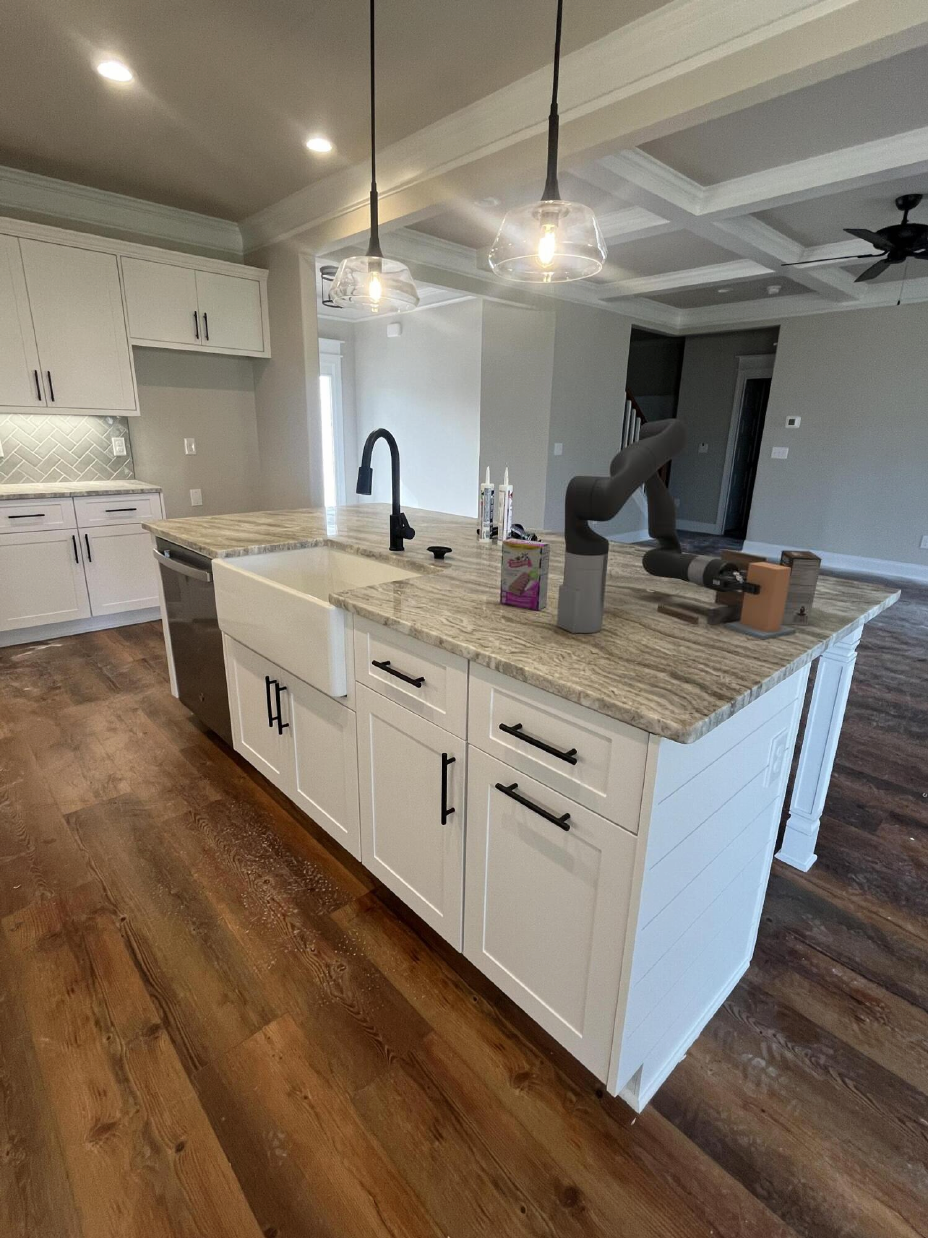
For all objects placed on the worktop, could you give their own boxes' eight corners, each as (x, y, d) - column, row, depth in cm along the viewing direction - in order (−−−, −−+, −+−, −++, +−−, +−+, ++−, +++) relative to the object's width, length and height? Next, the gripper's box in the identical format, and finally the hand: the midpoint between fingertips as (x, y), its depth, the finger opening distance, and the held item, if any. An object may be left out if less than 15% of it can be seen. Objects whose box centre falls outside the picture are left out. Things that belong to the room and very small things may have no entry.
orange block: (766, 632, 133) (777, 569, 129) (739, 623, 139) (749, 563, 135) (780, 629, 135) (791, 567, 131) (753, 621, 141) (762, 561, 137)
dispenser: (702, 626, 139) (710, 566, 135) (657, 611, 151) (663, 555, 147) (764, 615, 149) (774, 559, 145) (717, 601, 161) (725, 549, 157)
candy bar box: (498, 604, 155) (501, 540, 150) (508, 600, 159) (510, 537, 154) (538, 611, 149) (542, 545, 144) (547, 607, 153) (551, 542, 148)
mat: (762, 639, 131) (763, 636, 130) (724, 626, 139) (724, 623, 139) (795, 633, 135) (796, 629, 135) (756, 621, 144) (757, 617, 144)
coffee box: (769, 613, 151) (780, 549, 146) (797, 615, 149) (809, 550, 145) (780, 624, 142) (792, 556, 137) (810, 626, 141) (823, 558, 136)
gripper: (693, 560, 143) (753, 574, 129) (735, 556, 149) (796, 568, 135) (689, 591, 145) (747, 608, 131) (730, 585, 151) (790, 601, 137)
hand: (772, 588), depth 133 cm, fingers open, 8 cm apart
